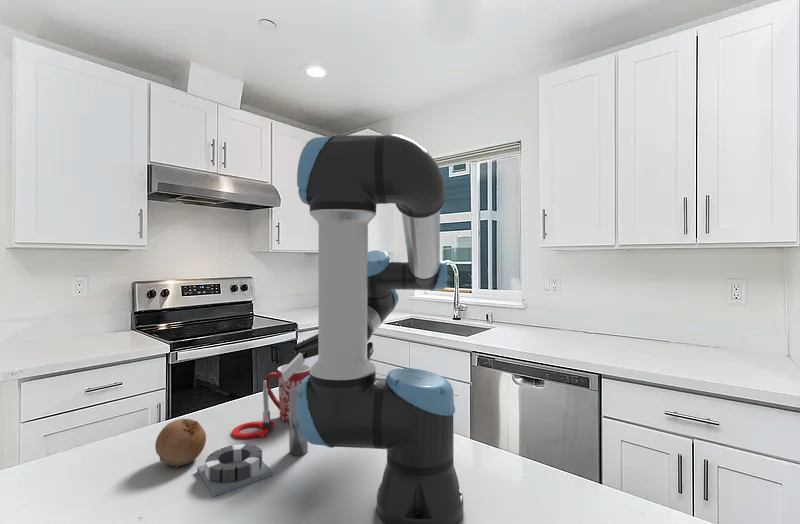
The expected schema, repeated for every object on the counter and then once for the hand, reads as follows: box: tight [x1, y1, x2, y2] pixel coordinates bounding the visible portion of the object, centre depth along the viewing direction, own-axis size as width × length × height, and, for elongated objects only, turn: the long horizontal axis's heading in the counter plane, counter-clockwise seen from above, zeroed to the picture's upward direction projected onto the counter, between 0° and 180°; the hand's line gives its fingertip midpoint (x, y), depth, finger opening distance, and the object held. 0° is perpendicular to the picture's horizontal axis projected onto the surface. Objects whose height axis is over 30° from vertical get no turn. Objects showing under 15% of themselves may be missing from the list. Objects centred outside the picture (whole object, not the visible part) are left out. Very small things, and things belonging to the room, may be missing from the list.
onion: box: [154, 418, 207, 468], centre depth 87 cm, size 10×9×10 cm
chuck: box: [196, 443, 273, 497], centre depth 82 cm, size 11×11×4 cm
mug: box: [265, 363, 312, 423], centre depth 111 cm, size 13×9×14 cm
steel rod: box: [288, 387, 309, 457], centre depth 91 cm, size 4×4×14 cm
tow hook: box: [231, 379, 275, 440], centre depth 102 cm, size 8×13×9 cm
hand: (308, 386), depth 87 cm, fingers open, 13 cm apart
